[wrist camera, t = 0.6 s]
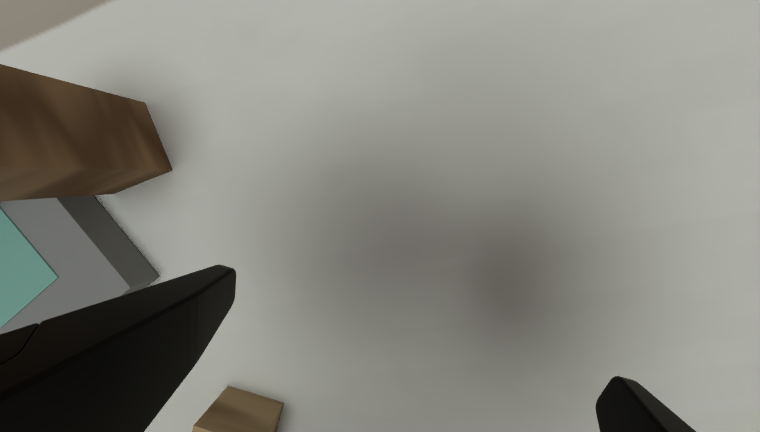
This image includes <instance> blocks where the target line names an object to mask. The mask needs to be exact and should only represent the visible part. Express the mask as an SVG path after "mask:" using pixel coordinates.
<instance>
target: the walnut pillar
mask: <svg viewBox="0 0 760 432" xmlns="http://www.w3.org/2000/svg"><path fill="white" fill-rule="evenodd" d="M171 170H172V168H171V165H170V163H169V160H168V158H167V155H166V153H165V151H164V148H163V146H162V143H161V141H160V138H159V136H158V134H157V131H156V129H155V126H154V124H153V122H152V119H151V117H150V114H149V112H148V109H147V107H146V105H145V103H144V102H140V101H136V100H133V99H129V98H125V97H121V96H118V95H114V94H110V93H106V92H103V91H99V90H95V89H91V88H88V87H84V86H80V85H76V84H73V83H69V82H65V81H61V80H58V79H54V78H50V77H46V76H43V75H39V74H35V73H31V72H28V71H24V70H20V69H16V68H13V67H9V66H5V65H1V64H0V201H14V200H29V199H44V198H59V197H74V196H88V195H103V194H114V193H117V192H119V191H122V190H124V189H127V188H129V187H132V186H134V185H137V184H139V183H141V182H144V181H146V180H149V179H151V178H154V177H156V176H159V175H161V174H164V173H166V172H169V171H171Z"/></svg>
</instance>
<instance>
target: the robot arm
mask: <svg viewBox="0 0 760 432" xmlns="http://www.w3.org/2000/svg"><path fill="white" fill-rule="evenodd" d="M235 287H236V271H235V270H234V269H233V268H230V267H227V266H223V265H215V266H212V267H209V268H206V269H203V270H199V271H196V272H193V273H190V274H187V275H184V276H181V277H178V278H175V279H171V280H168V281H165V282H162V283H159V284H156V285H153V286H150V287H147V288H143V289H140V290H137V291H134V292H131V293H128V294H125V295H122V296H119V297H115V298H112V299H109V300H106V301H103V302H100V303H97V304H94V305H91V306H87V307H84V308H81V309H78V310H75V311H72V312H69V313H66V314H63V315H59V316H56V317H53V318H50V319H47V320H44V321H42V322H40V324H38V323H34V324H31V325H28V326H25V327H22V328H19V329H16V330H13V331H9V332H6V333H3V334H0V432H144V431H145V430H146V428H147V427H148V426H149V424H150V423H151V422H152V420H153V419H154V418H155V417H156V415H157V414H158V413H159V411H160V410H161V409H162V407H163V406H164V405H165V404H166V402H167V401H168V400H169V398H170V397H171V396H172V394H173V393H174V392H175V391H176V389H177V388H178V387H179V385H180V384H181V383H182V381H183V380H184V379H185V377H186V376H187V375H188V374H189V372H190V371H191V370H192V368H193V367H194V366H195V364H196V363H197V361H198V360H199V358H200V357H201V355H202V354H203V352H204V351H205V349H206V347H207V346H208V344H209V342H210V341H211V339H212V338H213V336H214V334H215V333H216V331H217V329H218V328H219V326H220V324H221V323H222V321H223V320H224V318H225V316H226V315H227V313H228V311H229V310H230V308H231V306H232V304H233V302H234V299H235ZM596 414H597V419H598V423H599V428H600V432H696V431H695V430H693V429H692V428H691V427H690V426H689V425H688V424H686V423H685V422H684V421H683V420H682V419H680V418H679V417H678V416H677V415H676V414H675V413H673V412H672V411H671V410H670V409H669V408H667V407H666V406H665V405H664V404H663V403H661V402H660V401H659V400H658V399H657V398H656V397H654V396H653V395H652V394H651V393H650V392H648V391H647V390H646V389H645V388H644V387H643V386H641V385H640V384H639V383H638V382H636V381H634V380H631V379H627V378H623V377H620V376H615V377H613V378H612V379H611V380H610V382H609V383H608V385H607V386H606V387H605V389H604V390H603V392H602V393H601V395H600V396H599V398H598V400H597V403H596Z"/></svg>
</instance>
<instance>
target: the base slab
mask: <svg viewBox="0 0 760 432" xmlns="http://www.w3.org/2000/svg"><path fill="white" fill-rule="evenodd" d="M158 277H159V275H158V274H157V272H156V271H155V270H154V269H153V267H152V266H151V265H150V264H149V263H148V261H147V260H146V259H145V258H144V256H143V255H142V254H141V253H140V252H139V250H138V249H137V248H136V247H135V246H134V244H133V243H132V242H131V241H130V239H129V238H128V237H127V236H126V235H125V233H124V232H123V231H122V230H121V228H120V227H119V226H118V225H117V224H116V222H115V221H114V220H113V219H112V218H111V216H110V215H109V214H108V213H107V211H106V210H105V209H104V208H103V207H102V205H101V204H100V203H99V202H98V200H97V199H96V198H95V197H94V196H93V195H88V196H74V197H59V198H44V199H29V200H14V201H0V334H3V333H6V332H9V331H13V330H16V329H19V328H22V327H25V326H28V325H31V324H34V323H38V324H40V322H42V321H44V320H47V319H50V318H53V317H56V316H59V315H63V314H66V313H69V312H72V311H75V310H78V309H81V308H84V307H87V306H91V305H94V304H97V303H100V302H103V301H106V300H109V299H112V298H115V297H119V296H122V295H125V294H128V293H131V292H134V291H137V290H140V289H143V288H146V287H147V286H148V285H149V284H150V283H152V282H153V281H154V280H155V279H156V278H158Z"/></svg>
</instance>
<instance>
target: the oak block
mask: <svg viewBox="0 0 760 432" xmlns="http://www.w3.org/2000/svg"><path fill="white" fill-rule="evenodd" d="M282 407H283V403H282V402H279V401H276V400H273V399H269V398H266V397H263V396H260V395H256V394H253V393H250V392H247V391H243V390H240V389H237V388H234V387H230V386H227V388H226V389H225V390H224V391H223V392H222V393H221V395H220V396H219V397H218V398H217V399H216V400H215V402H214V403H213V404H212V405H211V406H210V407H209V408H208V410H207V411H206V412H205V413H204V414H203V415H202V417H201V418H200V419H199V420H198V421H197V422H196V423H195V425H194V426H193V431H192V432H276V431H277V427H278V423H279V419H280V415H281V411H282Z"/></svg>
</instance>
